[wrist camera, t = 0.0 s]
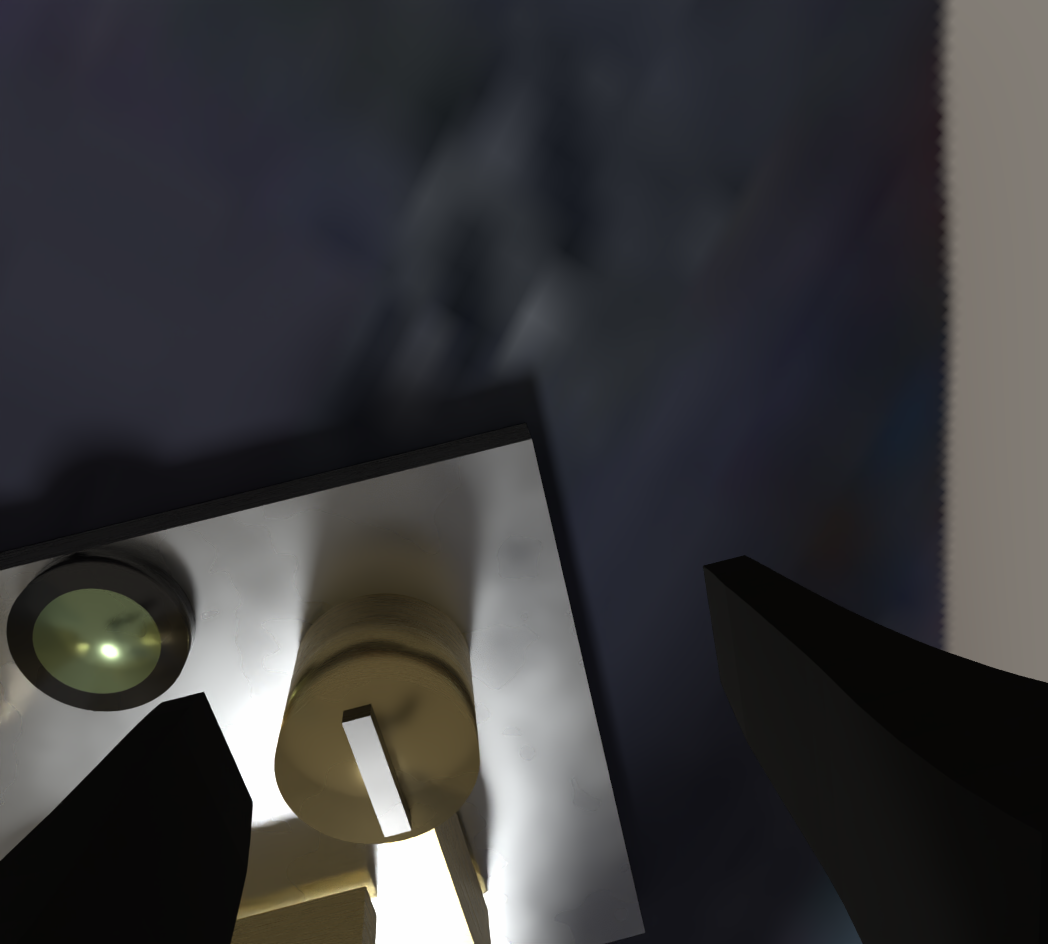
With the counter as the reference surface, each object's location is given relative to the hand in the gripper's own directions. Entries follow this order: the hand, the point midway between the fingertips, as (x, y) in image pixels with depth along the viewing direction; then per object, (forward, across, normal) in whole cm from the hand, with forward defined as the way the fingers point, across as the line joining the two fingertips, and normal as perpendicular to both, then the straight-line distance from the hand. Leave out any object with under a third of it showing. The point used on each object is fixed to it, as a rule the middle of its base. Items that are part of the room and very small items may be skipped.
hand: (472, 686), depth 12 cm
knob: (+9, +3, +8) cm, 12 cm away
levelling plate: (+10, +8, +8) cm, 15 cm away
